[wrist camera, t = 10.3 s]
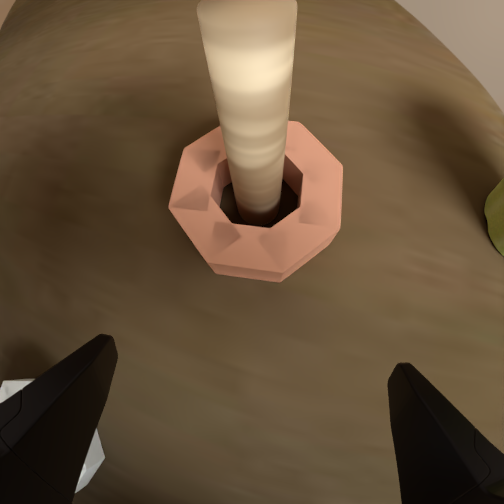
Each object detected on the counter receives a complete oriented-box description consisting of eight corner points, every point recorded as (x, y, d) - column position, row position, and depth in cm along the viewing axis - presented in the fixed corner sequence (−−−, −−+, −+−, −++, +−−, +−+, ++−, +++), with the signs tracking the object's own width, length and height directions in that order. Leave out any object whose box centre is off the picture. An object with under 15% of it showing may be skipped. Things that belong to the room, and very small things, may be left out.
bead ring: (325, 288, 18) (336, 279, 15) (172, 267, 19) (157, 255, 16) (334, 154, 21) (342, 128, 18) (202, 139, 21) (194, 113, 18)
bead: (115, 487, 15) (98, 501, 13) (32, 474, 15) (13, 483, 13) (84, 376, 17) (62, 380, 15) (6, 378, 17) (-16, 380, 15)
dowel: (265, 233, 19) (265, 38, 6) (229, 213, 20) (176, 17, 6) (286, 199, 20) (313, -3, 6) (251, 180, 20) (232, -21, 7)
